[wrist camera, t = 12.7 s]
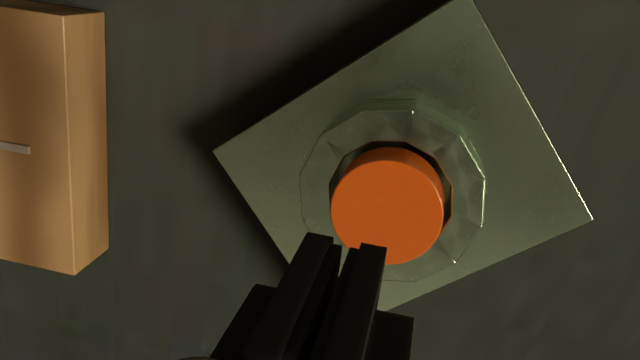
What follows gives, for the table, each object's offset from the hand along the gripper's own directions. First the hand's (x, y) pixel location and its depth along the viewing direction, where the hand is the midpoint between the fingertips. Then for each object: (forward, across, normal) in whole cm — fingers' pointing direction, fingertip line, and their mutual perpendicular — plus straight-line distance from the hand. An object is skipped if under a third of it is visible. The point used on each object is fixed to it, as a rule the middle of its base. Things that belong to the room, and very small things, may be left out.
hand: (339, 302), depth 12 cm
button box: (+14, 0, +2) cm, 14 cm away
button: (+10, 0, +2) cm, 10 cm away
